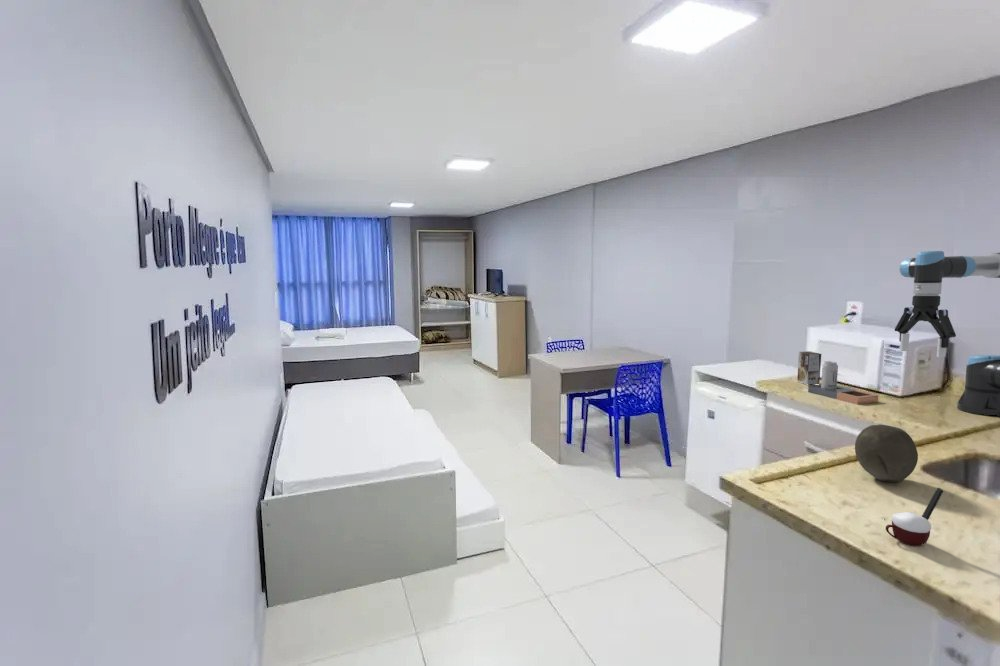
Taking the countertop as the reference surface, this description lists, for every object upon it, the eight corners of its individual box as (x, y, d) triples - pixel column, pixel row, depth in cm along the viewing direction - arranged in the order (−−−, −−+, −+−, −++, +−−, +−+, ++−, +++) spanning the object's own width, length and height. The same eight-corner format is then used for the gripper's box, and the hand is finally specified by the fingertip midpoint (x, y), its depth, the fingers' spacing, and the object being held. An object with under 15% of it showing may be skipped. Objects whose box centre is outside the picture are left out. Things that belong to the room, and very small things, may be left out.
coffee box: (820, 385, 246) (822, 353, 245) (807, 385, 246) (809, 354, 245) (808, 381, 255) (810, 351, 254) (796, 381, 256) (798, 351, 254)
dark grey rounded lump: (930, 487, 129) (935, 432, 127) (884, 492, 127) (889, 436, 125) (881, 467, 143) (885, 417, 141) (838, 470, 141) (842, 420, 139)
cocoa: (885, 544, 103) (887, 490, 102) (883, 530, 109) (884, 478, 107) (945, 555, 98) (948, 499, 97) (939, 540, 103) (942, 486, 102)
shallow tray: (808, 391, 233) (808, 385, 233) (827, 390, 237) (827, 383, 236) (857, 404, 210) (857, 397, 210) (878, 402, 214) (878, 395, 213)
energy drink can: (830, 395, 226) (832, 363, 224) (817, 392, 231) (819, 361, 229) (839, 394, 228) (841, 362, 226) (826, 391, 234) (828, 360, 232)
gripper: (885, 294, 186) (881, 349, 188) (953, 296, 161) (948, 360, 163) (903, 293, 186) (898, 348, 189) (973, 296, 162) (967, 359, 164)
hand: (921, 353), depth 176 cm, fingers open, 13 cm apart
